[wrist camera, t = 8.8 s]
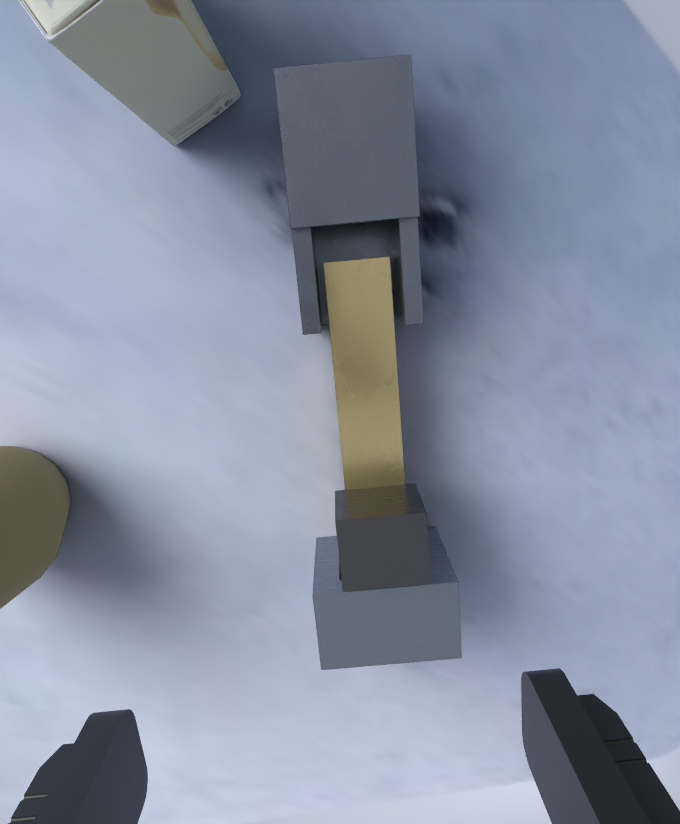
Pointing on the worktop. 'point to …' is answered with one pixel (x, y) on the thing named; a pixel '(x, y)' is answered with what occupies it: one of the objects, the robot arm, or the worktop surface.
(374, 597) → the socket
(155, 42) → the skincare box
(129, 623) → the worktop surface
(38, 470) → the squeeze bottle
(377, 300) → the yellow bar
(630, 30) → the worktop surface
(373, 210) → the sleeve
